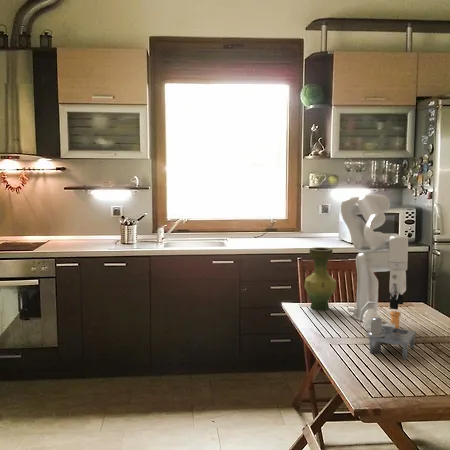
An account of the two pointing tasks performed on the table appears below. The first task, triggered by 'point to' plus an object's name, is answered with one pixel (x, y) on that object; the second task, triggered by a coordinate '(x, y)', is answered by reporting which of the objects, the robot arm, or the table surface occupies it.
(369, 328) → the hand grenade
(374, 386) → the table surface
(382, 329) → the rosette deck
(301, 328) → the table surface
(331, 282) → the vase
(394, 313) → the pin
